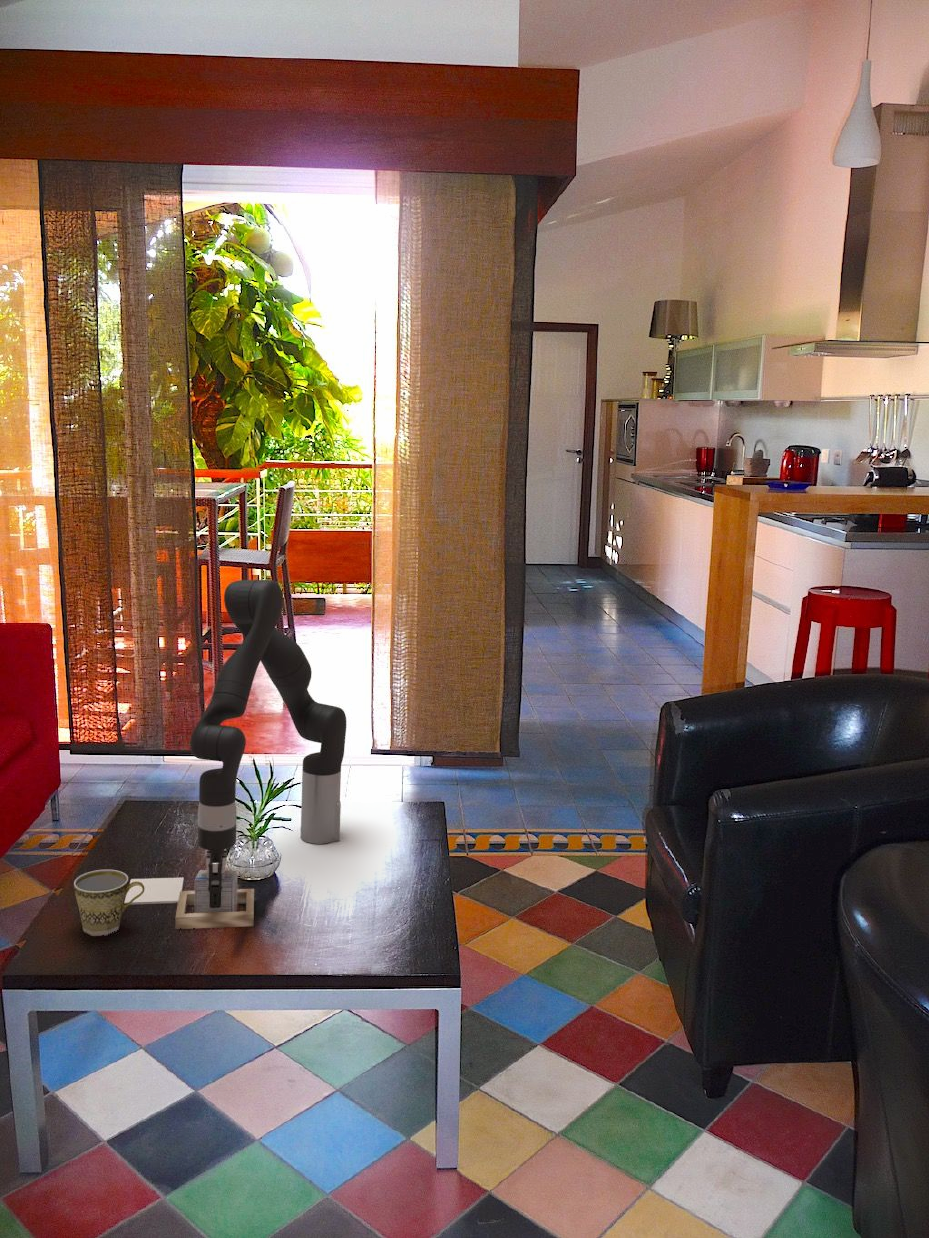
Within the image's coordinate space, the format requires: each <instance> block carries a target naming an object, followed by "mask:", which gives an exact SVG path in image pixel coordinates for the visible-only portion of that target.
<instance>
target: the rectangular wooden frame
mask: <svg viewBox="0 0 929 1238" xmlns="http://www.w3.org/2000/svg"><path fill="white" fill-rule="evenodd" d="M254 903H255V888H237V905H239V904H246V905H245V911H244V910H243V911H242V910H241V911H236V912H212V913H194V912H192V913H191V912H190V913H189V912H188V913H187V908H188V906H195V890H182V891H180V894H179V900H178V903H177V908H176V913H175V917H174V918H175V929H174V930H189V929H190V930H191V929H192V930H193V928H195V929H214V928H215V929H216V928H240V927H241V928H242V927H254V917H255V915H254V914H255V913H254V911H255V909H254V908H255V907H254V906H255V904H254ZM180 928H181V929H180Z"/></svg>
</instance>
